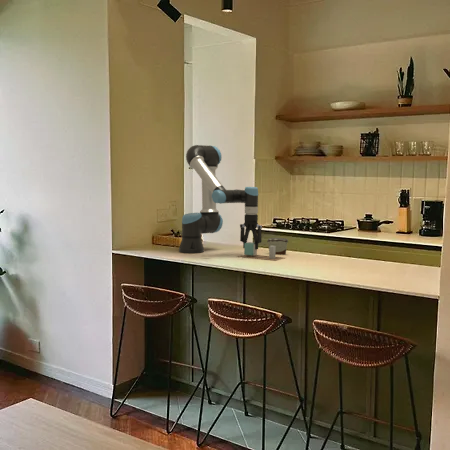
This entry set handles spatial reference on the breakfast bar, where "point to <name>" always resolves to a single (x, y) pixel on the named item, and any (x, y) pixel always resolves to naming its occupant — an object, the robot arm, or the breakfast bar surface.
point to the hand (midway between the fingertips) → (250, 254)
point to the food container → (278, 245)
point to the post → (272, 252)
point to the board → (261, 257)
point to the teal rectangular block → (248, 248)
